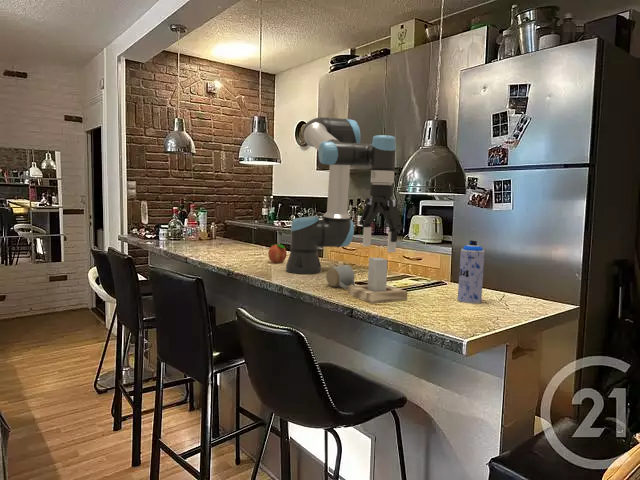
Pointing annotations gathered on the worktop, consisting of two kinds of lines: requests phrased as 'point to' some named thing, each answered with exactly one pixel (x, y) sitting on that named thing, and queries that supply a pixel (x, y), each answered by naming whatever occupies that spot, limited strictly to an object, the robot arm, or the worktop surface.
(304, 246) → the robot arm
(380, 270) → the skincare box
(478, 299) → the aerosol can
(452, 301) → the worktop surface
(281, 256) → the fruit
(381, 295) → the socket block
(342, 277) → the ceramic mug
